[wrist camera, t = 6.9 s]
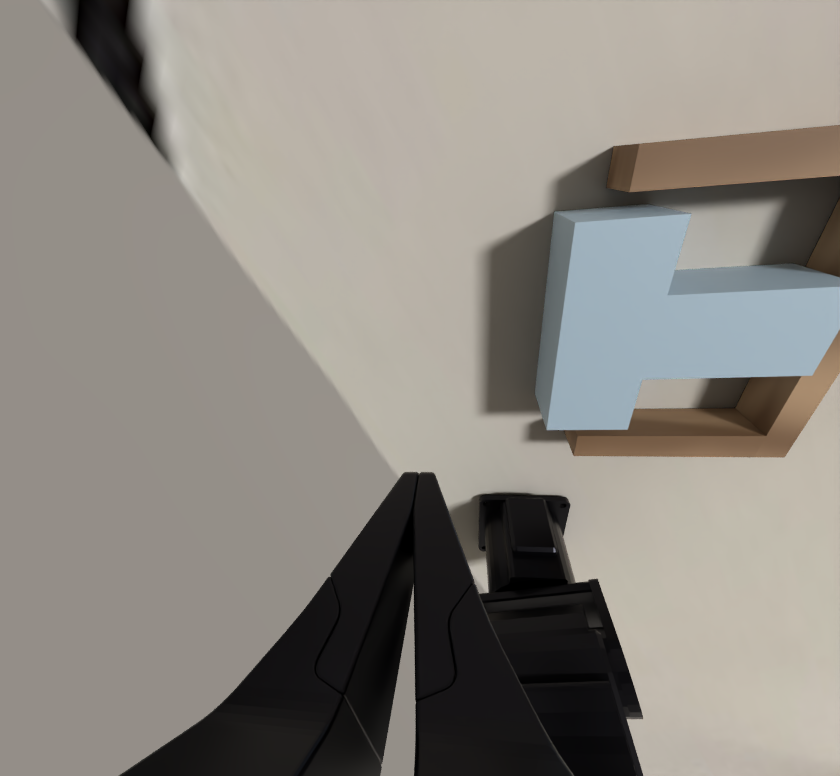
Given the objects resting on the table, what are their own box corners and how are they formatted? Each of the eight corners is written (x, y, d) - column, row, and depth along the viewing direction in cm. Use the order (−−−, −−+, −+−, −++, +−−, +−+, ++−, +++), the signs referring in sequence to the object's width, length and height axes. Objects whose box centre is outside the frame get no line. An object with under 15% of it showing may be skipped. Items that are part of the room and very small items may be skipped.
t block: (733, 389, 20) (780, 428, 17) (534, 393, 21) (546, 430, 18) (827, 189, 15) (918, 196, 12) (554, 211, 16) (575, 222, 13)
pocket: (752, 427, 21) (784, 457, 19) (562, 428, 23) (573, 455, 20) (923, 117, 13) (1011, 108, 11) (613, 146, 15) (639, 143, 12)
